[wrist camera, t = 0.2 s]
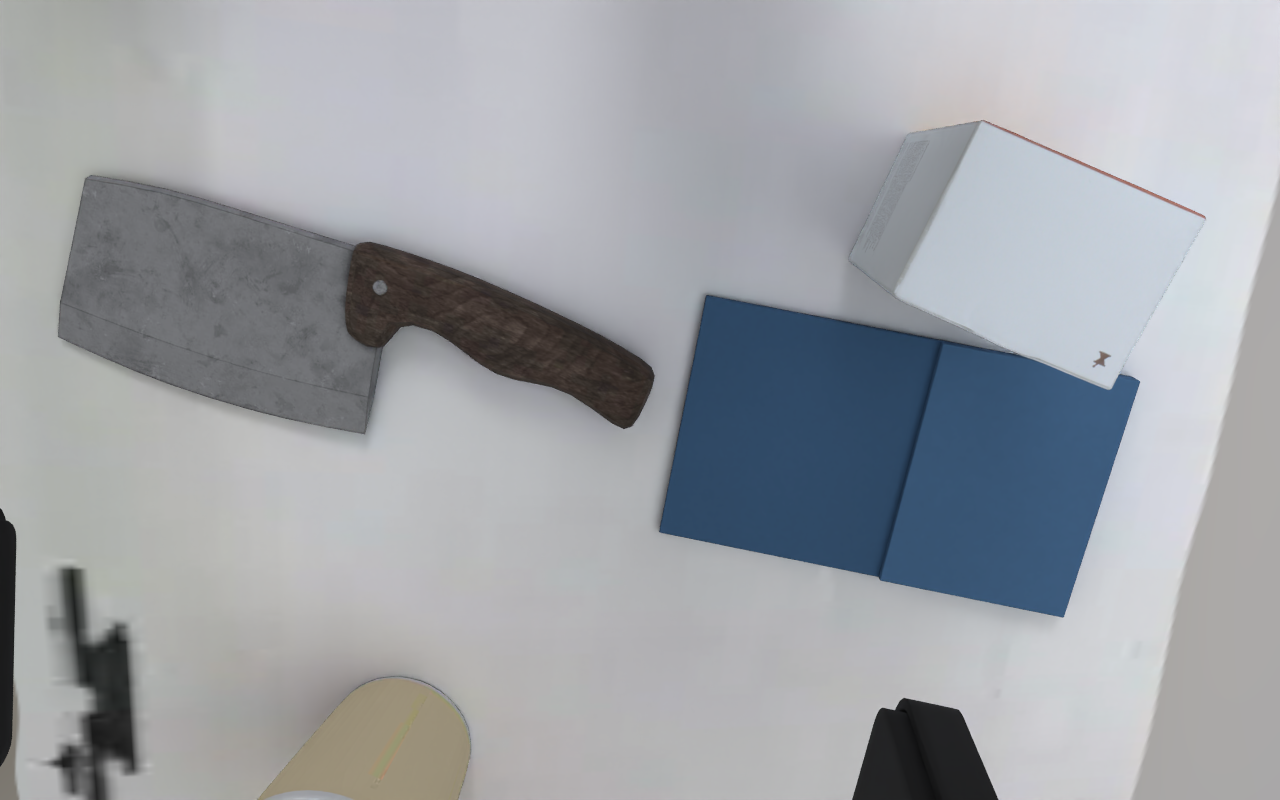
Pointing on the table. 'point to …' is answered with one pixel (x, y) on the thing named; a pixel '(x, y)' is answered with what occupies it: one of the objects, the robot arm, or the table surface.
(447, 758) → the coffee cup
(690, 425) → the cloth
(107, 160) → the table surface
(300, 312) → the cleaver
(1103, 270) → the small box
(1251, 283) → the table surface
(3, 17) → the table surface
